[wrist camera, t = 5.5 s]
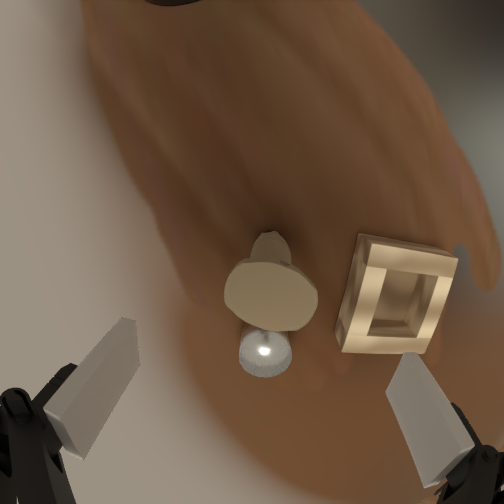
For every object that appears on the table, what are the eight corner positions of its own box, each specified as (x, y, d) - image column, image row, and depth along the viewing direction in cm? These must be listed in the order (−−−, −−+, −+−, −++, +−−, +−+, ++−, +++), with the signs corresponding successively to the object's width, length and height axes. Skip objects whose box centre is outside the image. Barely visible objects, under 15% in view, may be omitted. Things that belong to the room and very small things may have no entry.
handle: (287, 270, 34) (299, 340, 20) (237, 251, 34) (215, 311, 20) (303, 234, 33) (329, 283, 19) (252, 213, 33) (238, 249, 18)
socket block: (358, 232, 32) (372, 243, 28) (438, 247, 32) (458, 258, 27) (333, 330, 36) (341, 352, 31) (410, 335, 36) (424, 353, 31)
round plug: (239, 313, 36) (236, 337, 30) (286, 309, 36) (291, 333, 30) (244, 351, 38) (242, 378, 32) (288, 348, 37) (292, 375, 31)
